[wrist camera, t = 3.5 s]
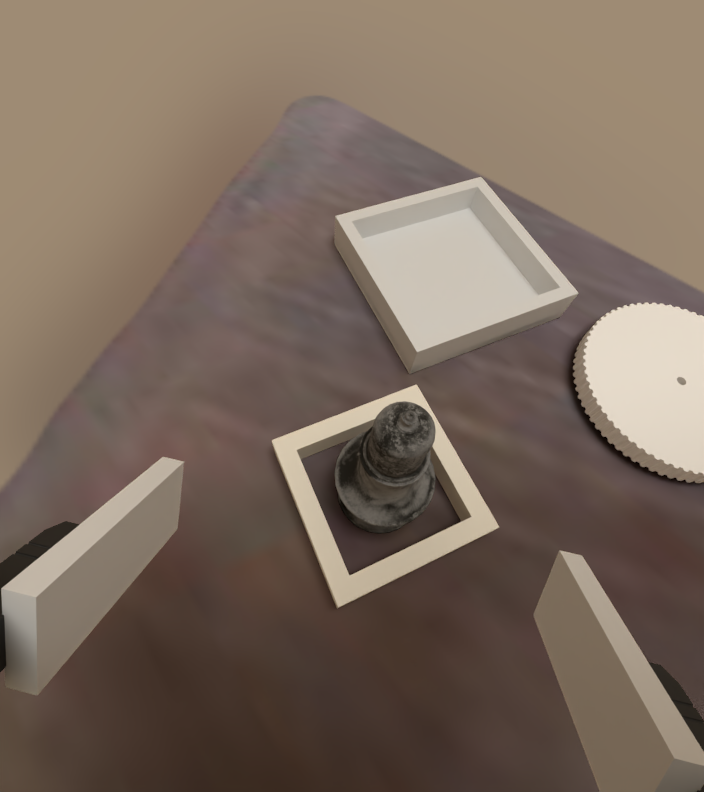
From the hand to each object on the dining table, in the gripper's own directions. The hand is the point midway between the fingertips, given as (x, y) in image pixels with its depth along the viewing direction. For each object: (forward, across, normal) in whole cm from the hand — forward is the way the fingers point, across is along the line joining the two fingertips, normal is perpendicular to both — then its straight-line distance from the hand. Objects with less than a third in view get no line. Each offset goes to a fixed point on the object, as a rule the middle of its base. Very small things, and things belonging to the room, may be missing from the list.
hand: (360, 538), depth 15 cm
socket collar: (+13, +1, -5) cm, 14 cm away
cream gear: (+22, +21, +3) cm, 30 cm away
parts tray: (+26, +3, +9) cm, 28 cm away
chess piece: (+13, +1, -5) cm, 14 cm away
